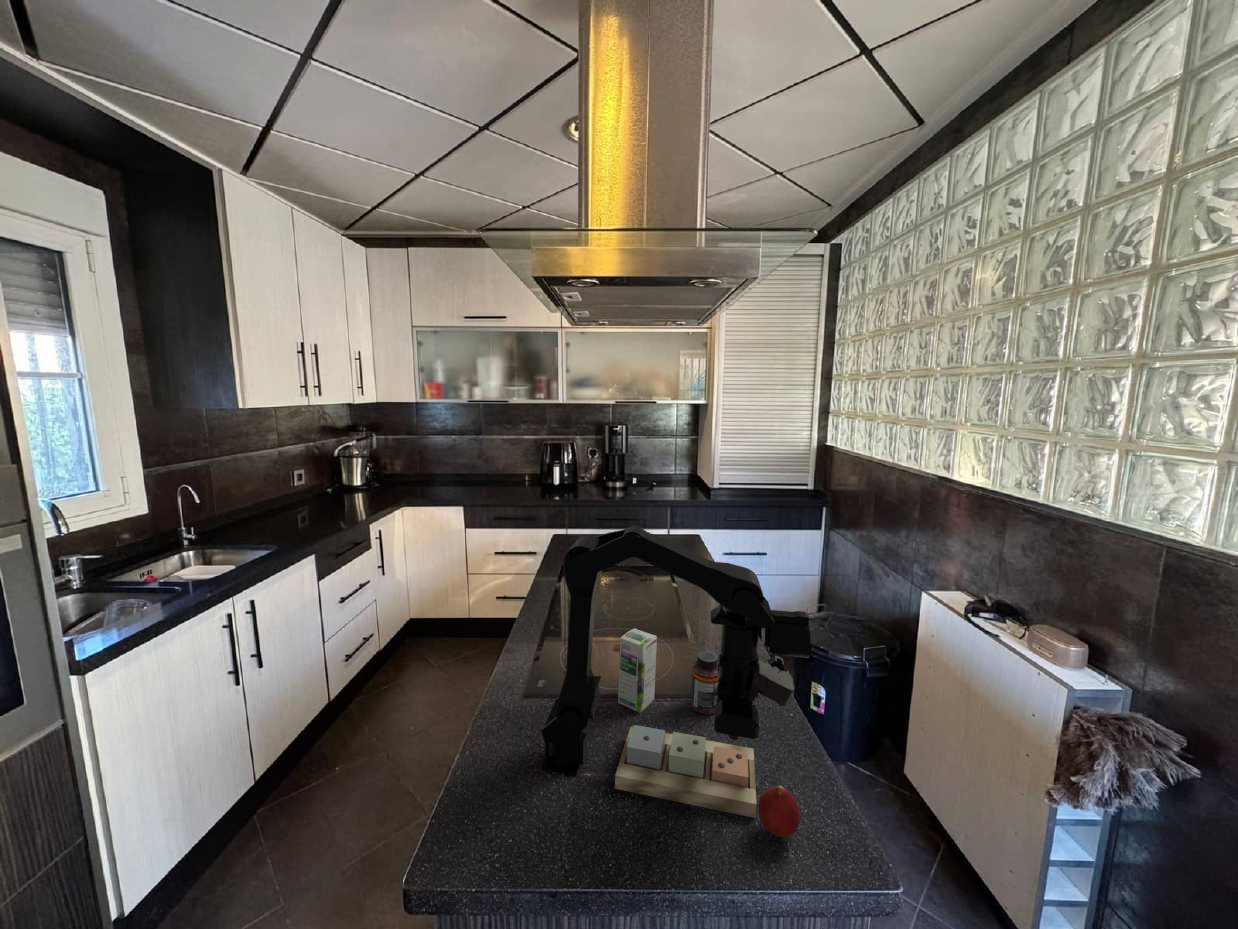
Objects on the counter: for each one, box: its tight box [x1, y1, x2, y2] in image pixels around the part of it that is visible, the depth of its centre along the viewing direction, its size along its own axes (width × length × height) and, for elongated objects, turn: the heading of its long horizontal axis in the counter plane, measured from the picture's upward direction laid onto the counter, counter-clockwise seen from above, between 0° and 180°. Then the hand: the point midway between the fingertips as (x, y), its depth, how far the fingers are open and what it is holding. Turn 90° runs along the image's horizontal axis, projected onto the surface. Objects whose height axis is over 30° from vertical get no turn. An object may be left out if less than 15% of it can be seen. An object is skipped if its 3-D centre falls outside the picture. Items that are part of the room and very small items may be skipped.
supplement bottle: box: [690, 650, 719, 716], centre depth 100 cm, size 6×6×11 cm
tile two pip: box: [668, 731, 707, 778], centre depth 82 cm, size 6×6×3 cm
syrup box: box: [617, 628, 658, 714], centre depth 101 cm, size 6×6×14 cm
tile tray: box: [614, 726, 757, 819], centre depth 83 cm, size 22×12×2 cm, turn 77°
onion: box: [757, 785, 801, 838], centre depth 72 cm, size 6×6×8 cm
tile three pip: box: [712, 746, 748, 788], centre depth 81 cm, size 6×6×3 cm
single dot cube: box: [627, 724, 666, 769], centre depth 84 cm, size 6×6×3 cm
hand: (733, 738), depth 80 cm, fingers closed
